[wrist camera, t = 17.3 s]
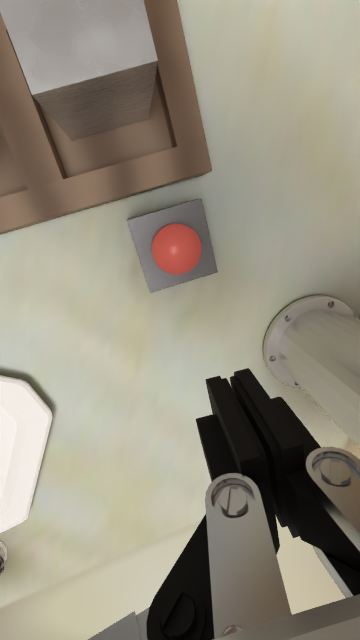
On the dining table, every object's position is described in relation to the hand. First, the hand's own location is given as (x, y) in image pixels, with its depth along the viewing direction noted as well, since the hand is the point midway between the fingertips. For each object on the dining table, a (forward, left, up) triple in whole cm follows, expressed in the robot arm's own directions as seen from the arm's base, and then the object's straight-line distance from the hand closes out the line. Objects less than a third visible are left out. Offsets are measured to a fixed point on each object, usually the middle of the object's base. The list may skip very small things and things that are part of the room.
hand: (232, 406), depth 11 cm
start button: (-1, -4, -19) cm, 19 cm away
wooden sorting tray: (+8, -17, -23) cm, 30 cm away
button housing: (-1, -4, -23) cm, 24 cm away
